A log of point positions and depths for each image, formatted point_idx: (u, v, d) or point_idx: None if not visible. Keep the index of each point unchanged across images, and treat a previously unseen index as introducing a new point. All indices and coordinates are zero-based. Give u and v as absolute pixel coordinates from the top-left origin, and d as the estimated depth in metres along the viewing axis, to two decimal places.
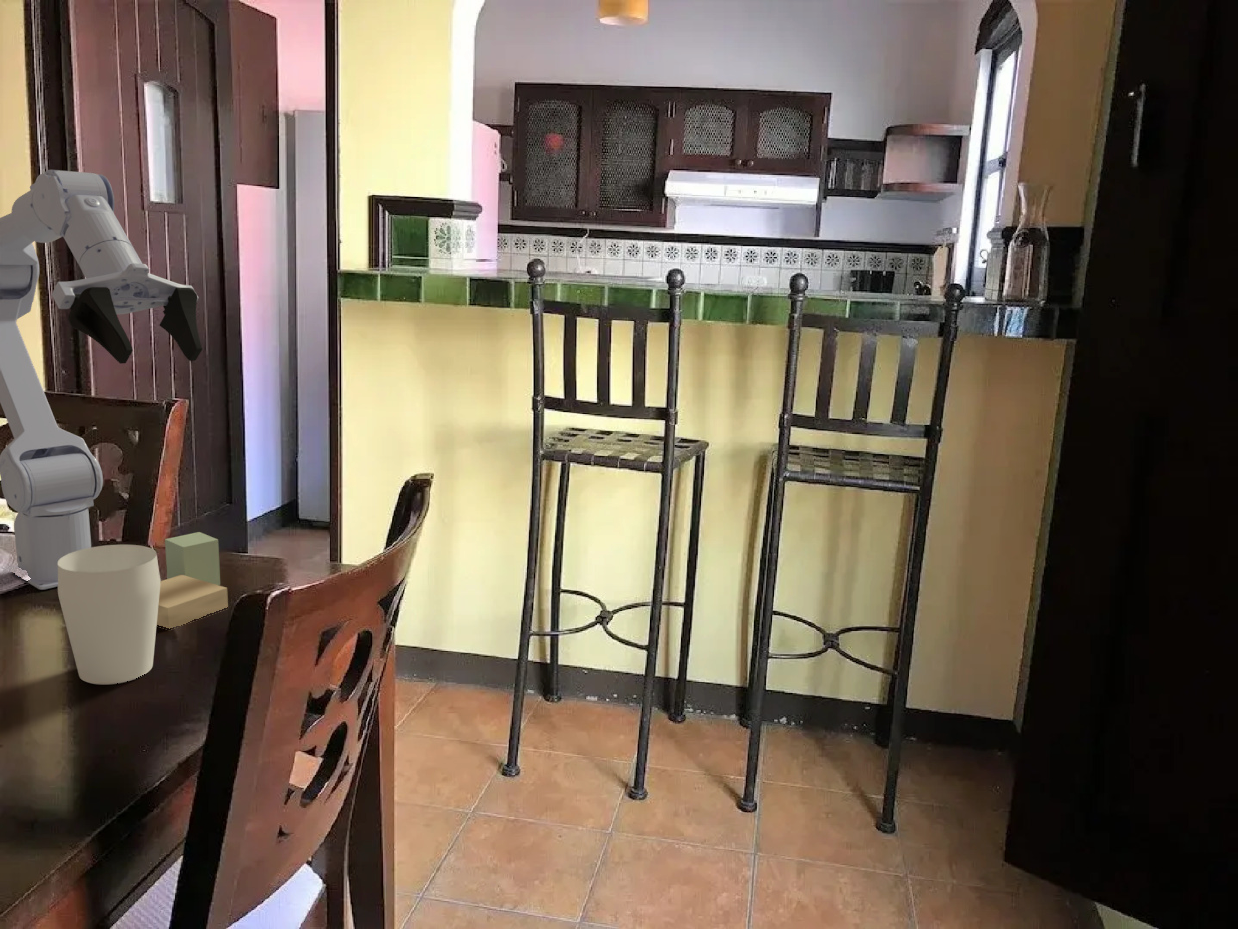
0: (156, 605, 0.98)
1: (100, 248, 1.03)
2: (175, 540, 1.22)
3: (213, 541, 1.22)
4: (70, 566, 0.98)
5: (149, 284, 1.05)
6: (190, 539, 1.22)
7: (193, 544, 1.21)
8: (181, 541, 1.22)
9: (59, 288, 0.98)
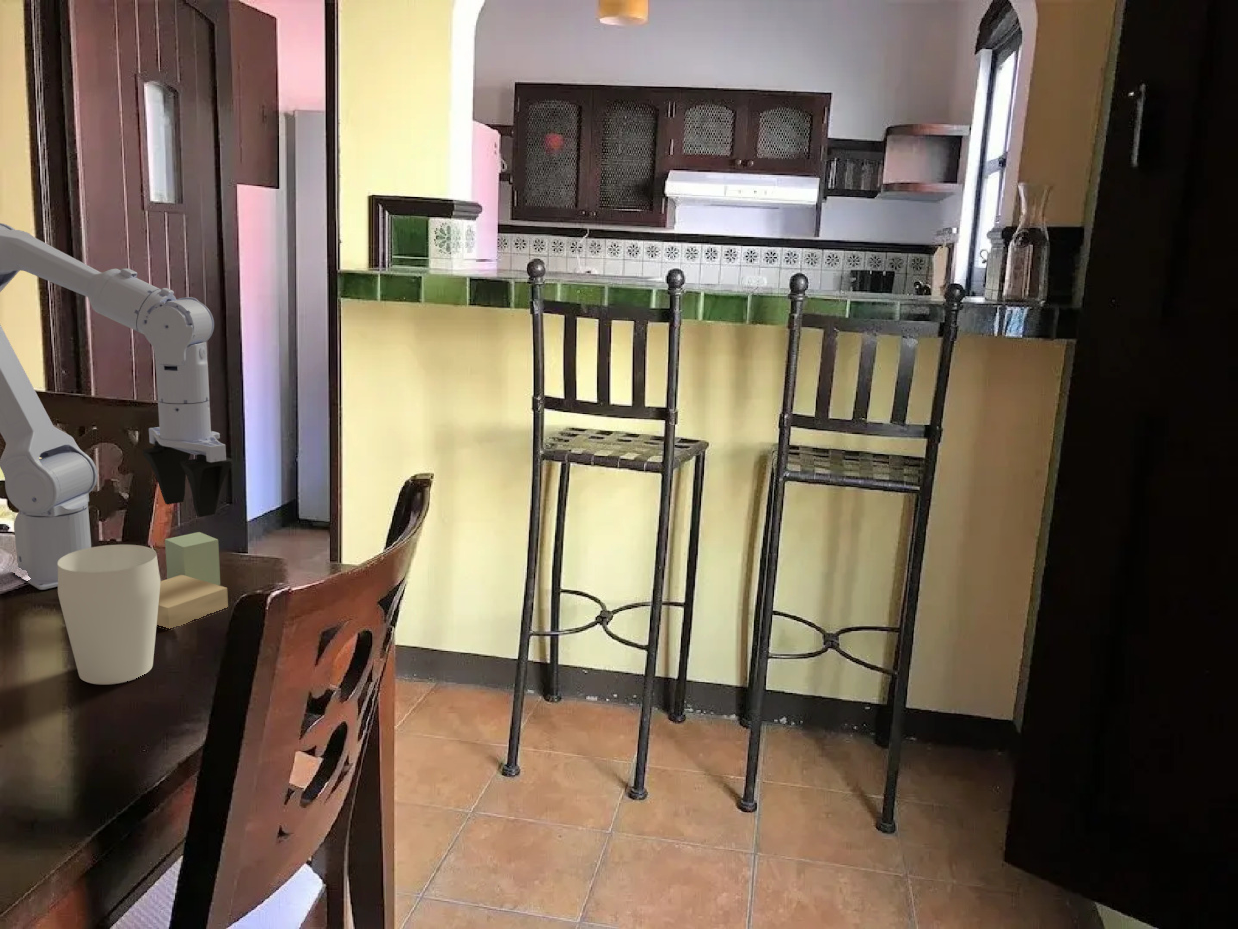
0: (156, 605, 0.98)
1: (208, 405, 1.19)
2: (175, 540, 1.22)
3: (213, 541, 1.22)
4: (70, 566, 0.98)
5: None
6: (190, 539, 1.22)
7: (193, 544, 1.21)
8: (181, 541, 1.22)
9: (223, 450, 1.16)
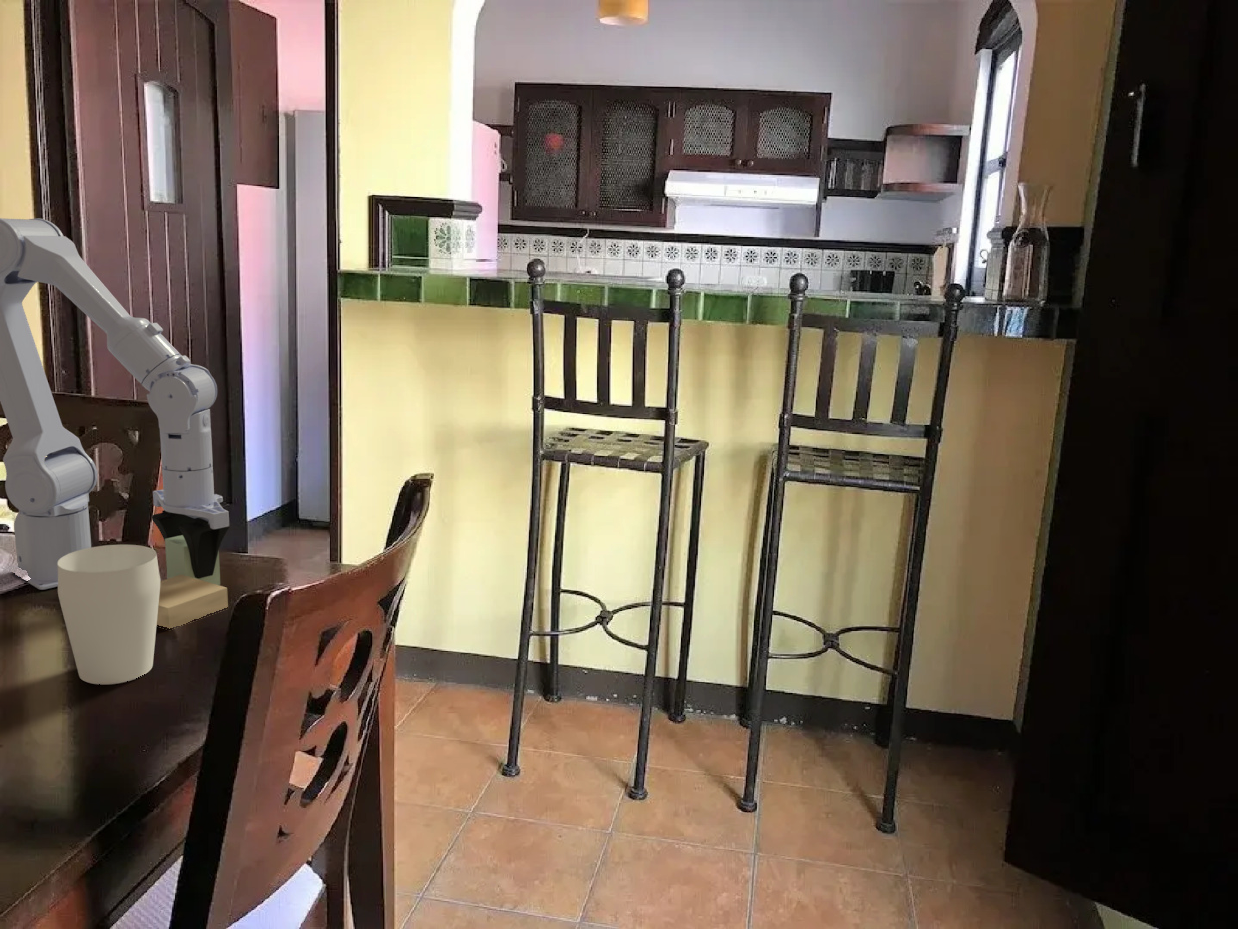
0: (156, 605, 0.98)
1: (211, 471, 1.21)
2: (175, 539, 1.22)
3: None
4: (70, 566, 0.98)
5: None
6: None
7: None
8: (181, 541, 1.22)
9: (226, 517, 1.18)
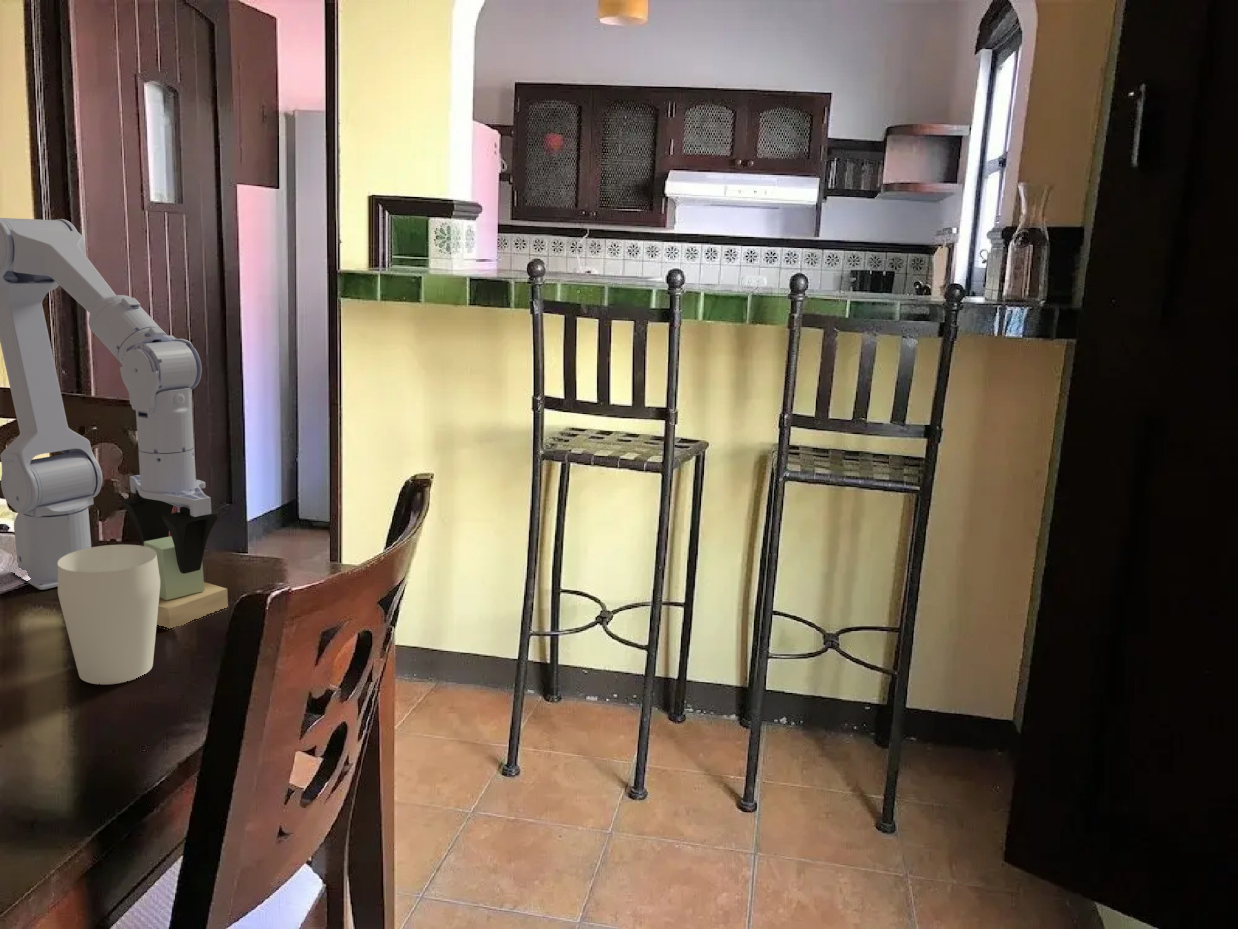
0: (156, 605, 0.98)
1: (193, 453, 1.11)
2: (154, 542, 1.13)
3: None
4: (70, 566, 0.98)
5: None
6: (171, 541, 1.13)
7: (173, 546, 1.11)
8: (161, 543, 1.12)
9: (208, 503, 1.08)
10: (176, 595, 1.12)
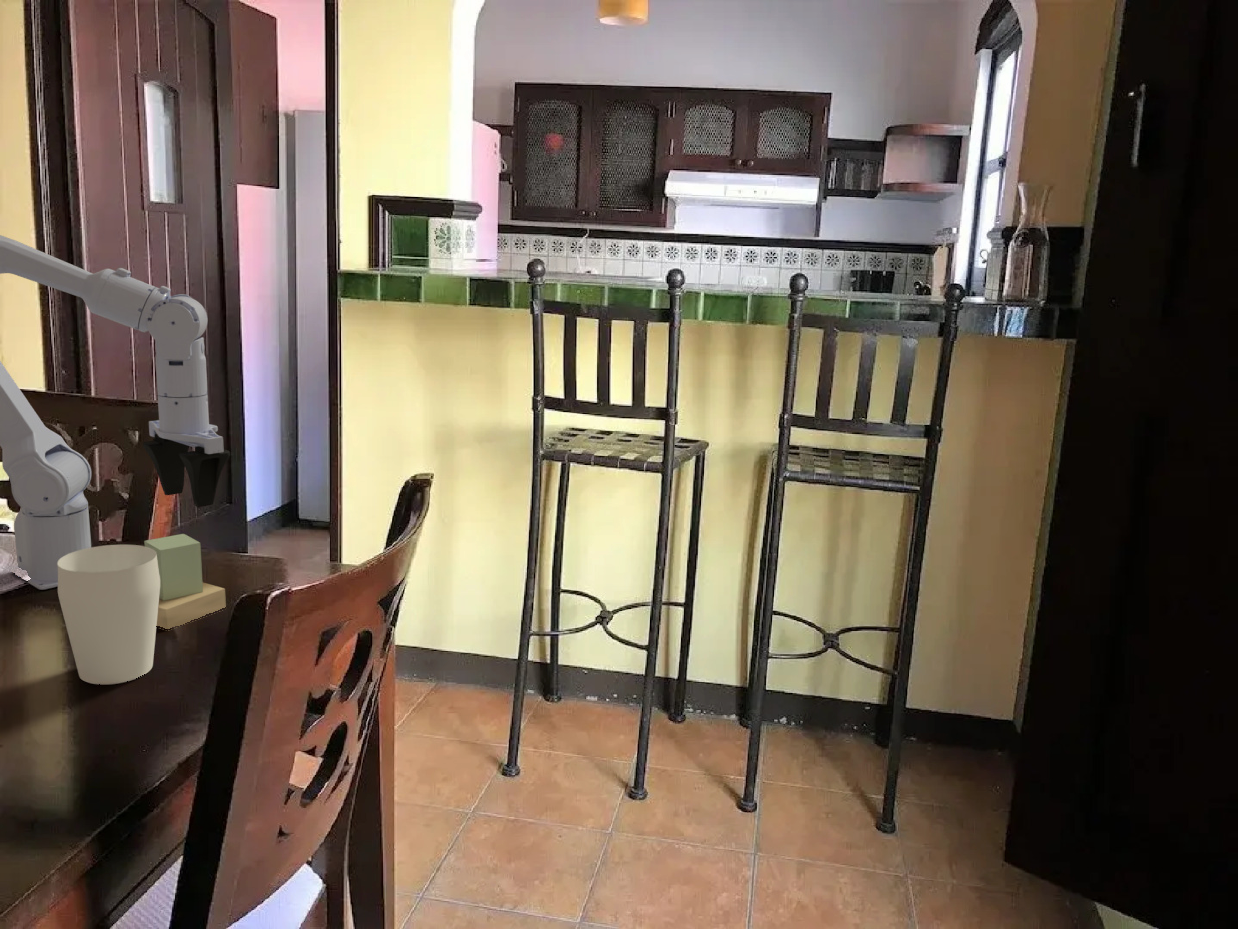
0: (156, 605, 0.98)
1: (206, 399, 1.23)
2: (154, 542, 1.13)
3: (194, 544, 1.13)
4: (70, 566, 0.98)
5: None
6: (171, 541, 1.13)
7: (172, 547, 1.11)
8: (160, 543, 1.12)
9: (220, 442, 1.20)
10: (174, 596, 1.12)
